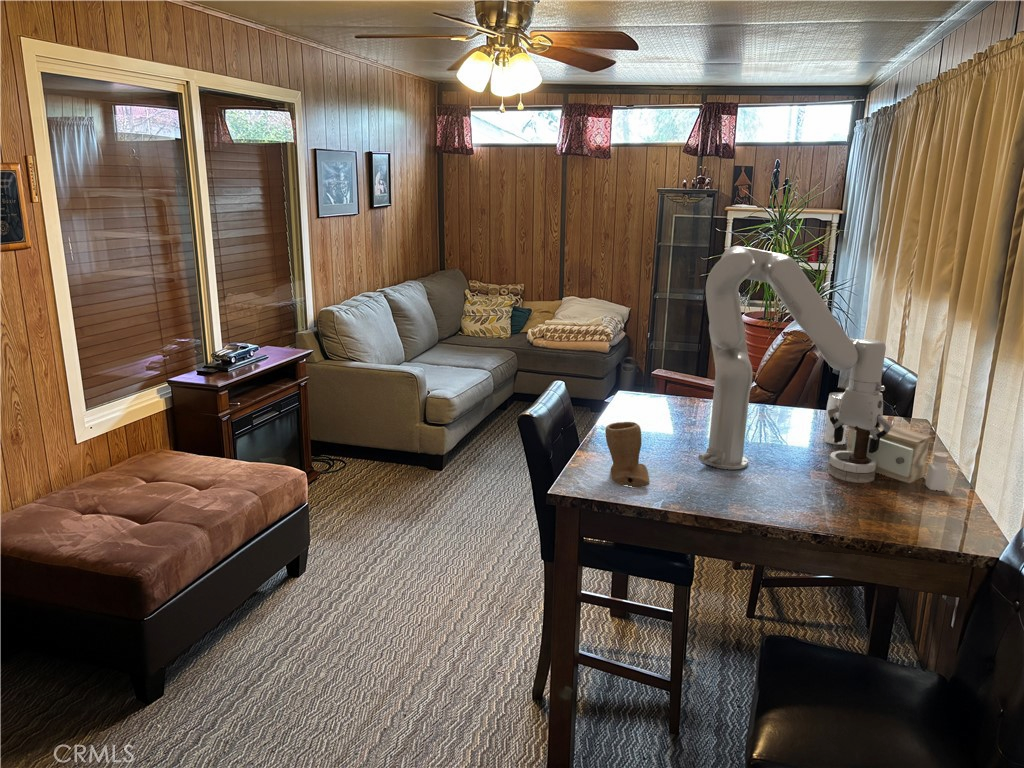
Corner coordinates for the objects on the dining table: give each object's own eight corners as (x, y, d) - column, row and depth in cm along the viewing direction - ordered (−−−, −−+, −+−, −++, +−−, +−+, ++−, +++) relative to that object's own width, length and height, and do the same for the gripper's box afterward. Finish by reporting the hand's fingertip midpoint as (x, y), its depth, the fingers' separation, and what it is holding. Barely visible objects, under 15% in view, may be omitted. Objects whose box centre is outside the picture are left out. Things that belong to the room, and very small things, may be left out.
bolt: (869, 480, 196) (877, 427, 192) (849, 478, 196) (857, 426, 193) (863, 472, 201) (871, 420, 197) (844, 470, 202) (851, 419, 198)
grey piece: (881, 484, 186) (885, 456, 184) (820, 461, 201) (824, 435, 199) (908, 476, 191) (913, 449, 189) (847, 454, 206) (851, 429, 204)
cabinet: (887, 495, 186) (894, 451, 183) (819, 472, 201) (825, 431, 197) (924, 476, 199) (932, 436, 196) (858, 456, 213) (864, 418, 210)
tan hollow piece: (603, 466, 202) (606, 415, 198) (646, 469, 200) (650, 417, 197) (602, 488, 187) (605, 433, 183) (649, 491, 186) (653, 435, 182)
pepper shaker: (924, 484, 193) (930, 451, 191) (940, 486, 193) (946, 452, 190) (929, 490, 190) (935, 456, 187) (946, 492, 189) (952, 457, 186)
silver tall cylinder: (851, 444, 224) (858, 397, 220) (834, 446, 221) (841, 399, 217) (834, 437, 230) (840, 391, 226) (817, 439, 227) (823, 393, 223)
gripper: (904, 391, 189) (893, 453, 193) (840, 377, 202) (832, 435, 206) (890, 395, 184) (879, 459, 189) (825, 381, 197) (817, 440, 202)
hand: (854, 446), depth 197 cm, fingers open, 9 cm apart
